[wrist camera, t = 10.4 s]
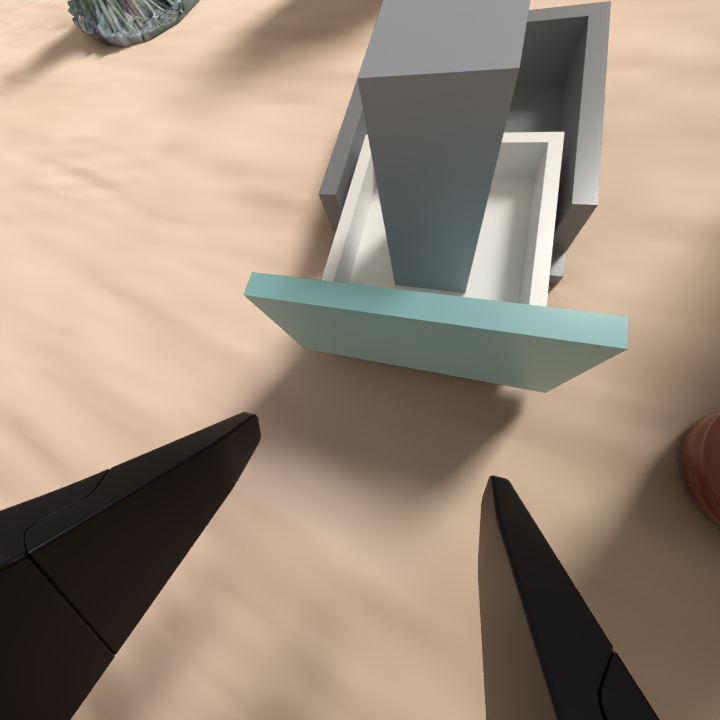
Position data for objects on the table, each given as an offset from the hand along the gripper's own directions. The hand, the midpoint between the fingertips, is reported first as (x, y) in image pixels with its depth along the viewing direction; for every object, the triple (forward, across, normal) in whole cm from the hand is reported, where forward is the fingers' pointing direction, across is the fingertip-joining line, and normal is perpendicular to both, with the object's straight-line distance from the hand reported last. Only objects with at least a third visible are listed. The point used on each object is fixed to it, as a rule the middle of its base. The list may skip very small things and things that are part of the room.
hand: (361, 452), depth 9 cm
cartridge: (+16, 0, -3) cm, 16 cm away
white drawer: (+16, 0, -2) cm, 16 cm away
